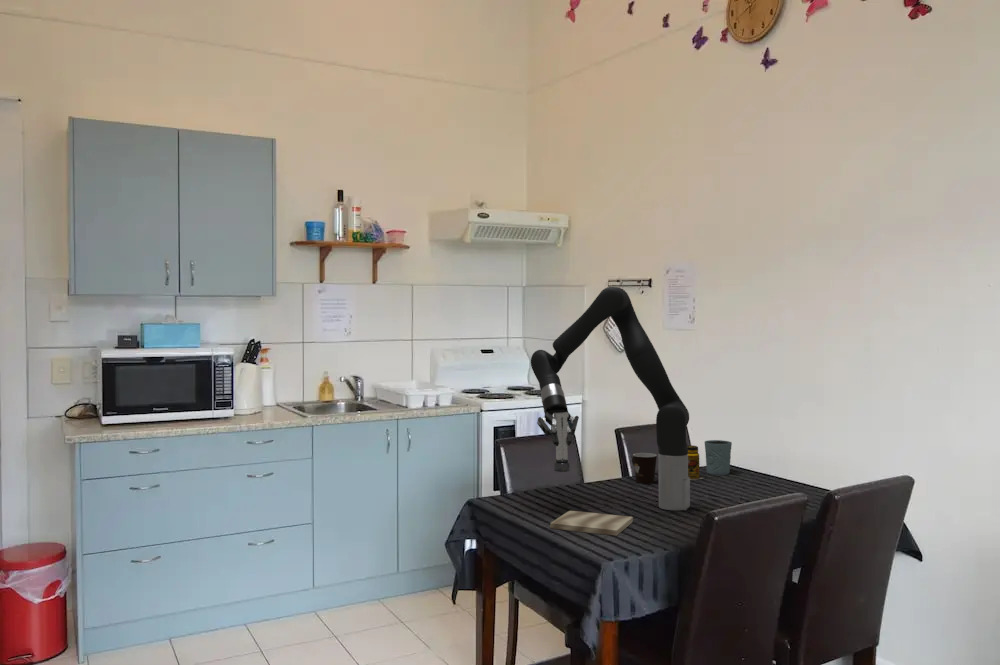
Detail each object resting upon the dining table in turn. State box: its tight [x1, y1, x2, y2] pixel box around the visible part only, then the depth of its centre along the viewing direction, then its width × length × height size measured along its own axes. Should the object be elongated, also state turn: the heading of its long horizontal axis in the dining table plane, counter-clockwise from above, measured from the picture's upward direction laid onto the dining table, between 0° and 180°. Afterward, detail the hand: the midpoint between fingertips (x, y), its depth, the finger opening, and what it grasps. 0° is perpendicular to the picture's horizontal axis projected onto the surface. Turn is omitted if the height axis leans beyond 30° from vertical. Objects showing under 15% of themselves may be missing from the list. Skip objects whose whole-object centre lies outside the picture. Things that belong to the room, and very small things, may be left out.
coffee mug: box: [631, 452, 658, 485], centre depth 294 cm, size 12×9×10 cm
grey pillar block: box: [553, 412, 571, 473], centre depth 249 cm, size 5×5×18 cm
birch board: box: [549, 510, 634, 536], centre depth 235 cm, size 20×16×2 cm
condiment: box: [687, 444, 704, 481], centre depth 300 cm, size 7×8×12 cm
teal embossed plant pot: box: [704, 439, 732, 476], centre depth 308 cm, size 10×10×12 cm
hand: (563, 444), depth 247 cm, fingers closed on grey pillar block, 3 cm apart
